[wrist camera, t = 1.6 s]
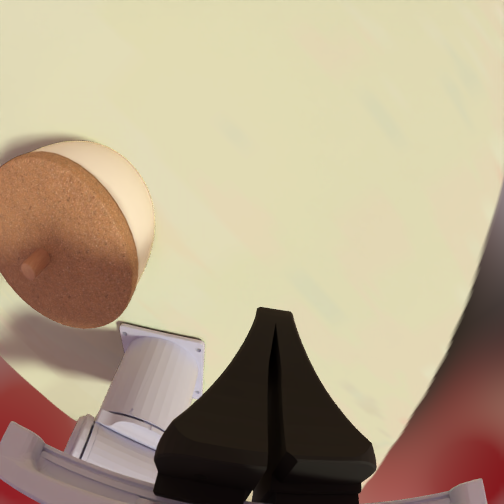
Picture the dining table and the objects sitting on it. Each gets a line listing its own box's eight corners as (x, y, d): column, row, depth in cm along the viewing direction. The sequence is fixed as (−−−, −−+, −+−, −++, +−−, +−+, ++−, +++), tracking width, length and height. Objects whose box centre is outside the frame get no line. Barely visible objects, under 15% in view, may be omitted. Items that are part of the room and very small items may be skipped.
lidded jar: (78, 265, 25) (19, 342, 17) (34, 146, 19) (-57, 196, 11) (194, 254, 23) (151, 354, 15) (155, 104, 18) (64, 138, 10)
